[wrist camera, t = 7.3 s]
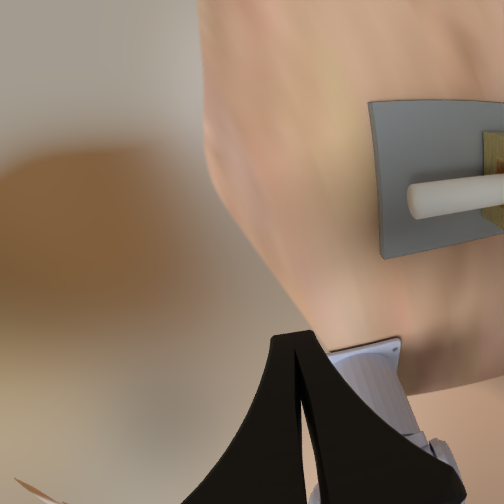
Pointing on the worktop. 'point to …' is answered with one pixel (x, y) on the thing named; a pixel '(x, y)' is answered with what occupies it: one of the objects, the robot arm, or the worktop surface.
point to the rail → (433, 173)
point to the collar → (494, 171)
